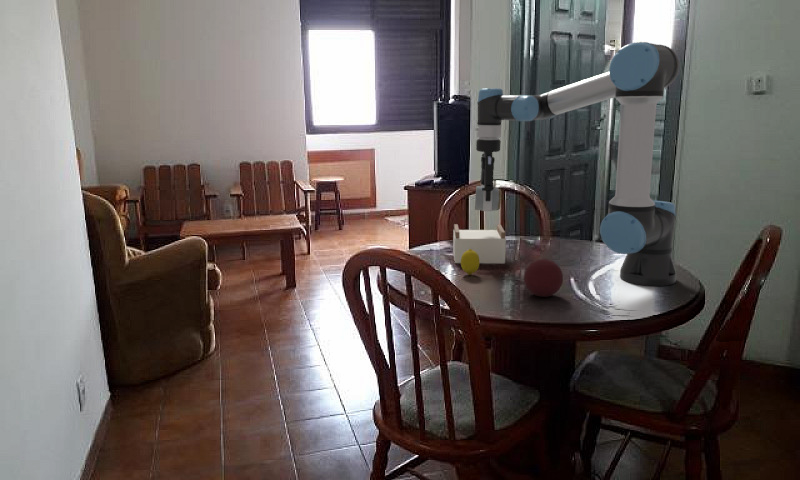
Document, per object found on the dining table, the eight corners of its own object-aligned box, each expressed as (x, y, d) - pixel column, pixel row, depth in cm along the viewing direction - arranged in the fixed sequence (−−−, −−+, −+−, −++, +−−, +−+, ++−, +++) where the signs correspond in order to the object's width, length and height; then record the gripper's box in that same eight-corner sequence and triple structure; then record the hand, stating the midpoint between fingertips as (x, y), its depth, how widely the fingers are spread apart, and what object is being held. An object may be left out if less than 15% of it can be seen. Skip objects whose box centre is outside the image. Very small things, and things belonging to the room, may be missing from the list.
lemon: (456, 275, 187) (457, 249, 186) (468, 271, 191) (468, 246, 189) (471, 278, 184) (472, 252, 182) (482, 274, 188) (483, 248, 186)
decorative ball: (530, 288, 174) (532, 253, 172) (566, 293, 169) (568, 257, 167) (518, 298, 165) (519, 261, 163) (555, 304, 160) (557, 266, 158)
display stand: (505, 263, 200) (505, 232, 198) (454, 263, 201) (455, 232, 199) (500, 253, 214) (501, 224, 212) (453, 252, 215) (453, 224, 213)
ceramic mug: (500, 212, 197) (502, 188, 196) (474, 211, 198) (475, 187, 197) (499, 207, 208) (500, 184, 206) (474, 206, 208) (474, 183, 207)
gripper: (474, 136, 209) (472, 201, 214) (479, 141, 187) (476, 214, 192) (497, 136, 209) (494, 201, 214) (504, 141, 186) (501, 214, 191)
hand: (485, 207), depth 203 cm, fingers closed on ceramic mug, 11 cm apart
